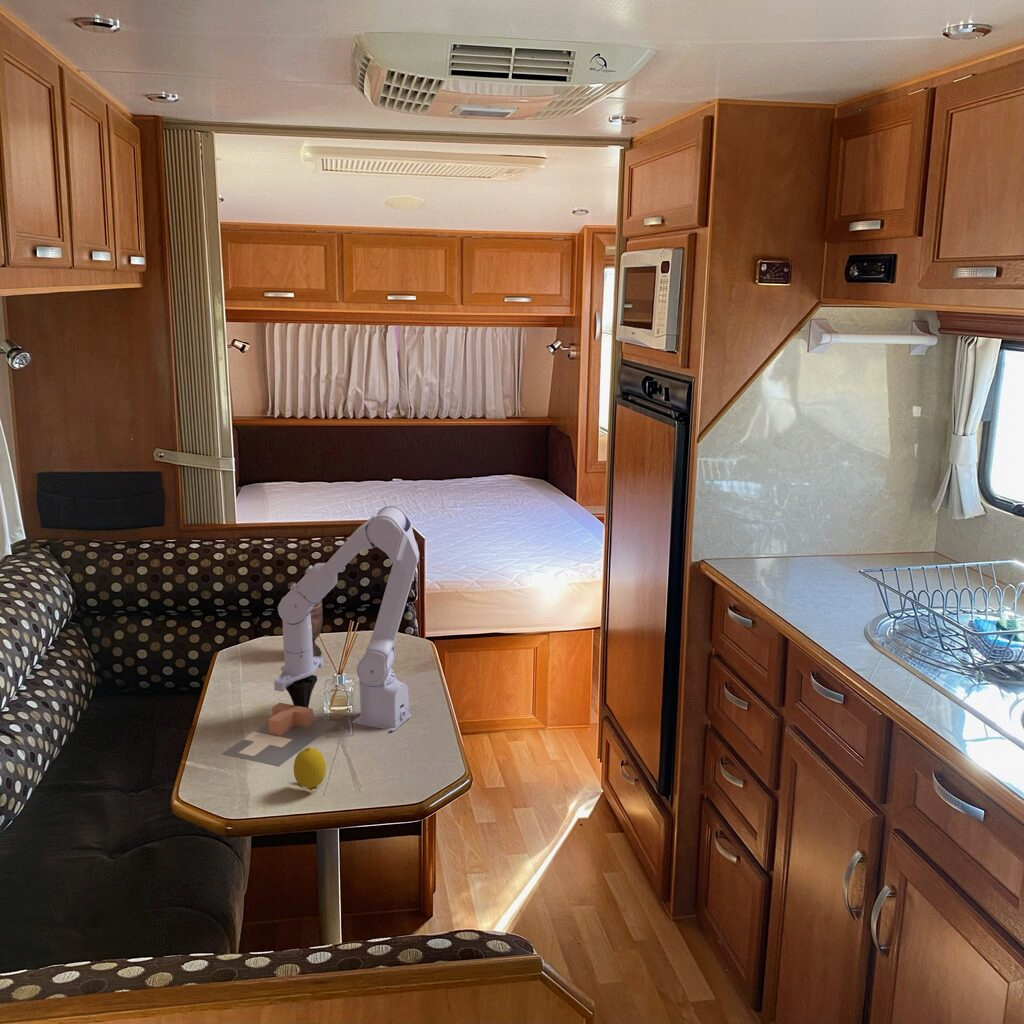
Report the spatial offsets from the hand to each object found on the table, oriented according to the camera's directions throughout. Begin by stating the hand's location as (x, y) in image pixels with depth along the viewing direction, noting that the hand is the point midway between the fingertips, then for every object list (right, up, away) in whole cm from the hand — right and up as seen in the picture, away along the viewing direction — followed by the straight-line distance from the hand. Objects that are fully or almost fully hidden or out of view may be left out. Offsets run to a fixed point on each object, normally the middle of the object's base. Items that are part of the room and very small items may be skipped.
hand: (301, 711), depth 199 cm
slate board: (-2, -4, -9) cm, 10 cm away
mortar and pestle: (-7, +6, +36) cm, 37 cm away
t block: (-2, -2, -5) cm, 6 cm away
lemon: (+8, -8, -28) cm, 30 cm away
